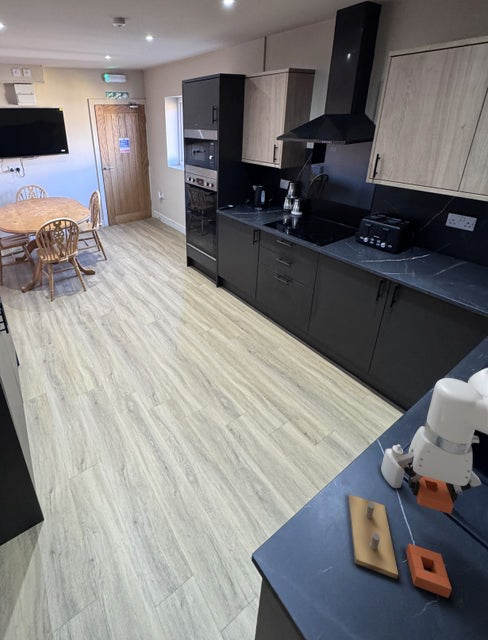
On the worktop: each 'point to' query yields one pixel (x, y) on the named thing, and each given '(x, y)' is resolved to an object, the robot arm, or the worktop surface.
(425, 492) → the pad
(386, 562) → the base board
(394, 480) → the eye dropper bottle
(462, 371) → the worktop surface
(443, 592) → the orange square ring block
